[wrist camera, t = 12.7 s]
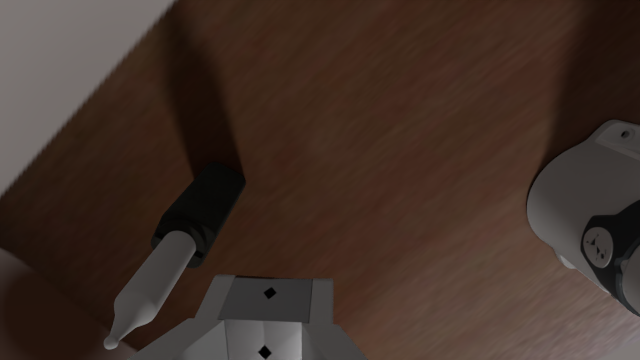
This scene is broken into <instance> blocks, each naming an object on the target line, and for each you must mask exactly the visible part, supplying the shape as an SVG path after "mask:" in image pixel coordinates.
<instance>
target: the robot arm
mask: <svg viewBox="0 0 640 360" xmlns="http://www.w3.org/2000/svg"><path fill="white" fill-rule="evenodd" d="M624 131H625V134H624V135H623V136H621V134H622V133H623V132H624ZM527 216H528V220H529V223H530V226H531V228H532V229H533V231H534V232H535V234H536V235H537V236H538V237H539V238H540V239H541V240H543V241H544V242H546V243H547V244H548V245H550V246H551V247H552V248H553V249H554V251H555V253H556V255H557V257H558V259H559V260H560V262H561V263H562V264H564V265H565V266H566V267H568V268H577V269H578V270H579V271H580V272H581V273H583V274H584V275H585V276H586V277H588V278H589V279H590V280H591V281H593V282H594V283H595V284H596V285H598V286H599V287H600V288H601V289H603V290H604V291H605V292H607V293H610V294H611V296H612V297H613V298H614V299H615V300H616V301H617V302H619V303H620V304H621V305H623V306H625V307H626V308H627V309H628V310H629V311H631V312H632V313H634V314H635V315H637V316H639V317H640V125H637V124H633V123H629V122H624V121H620V120H609V121H607V122H605V123H604V124H603V125H601V126H600V127H599V128H598V129H597V130H596V131H595V132H594V133H593V134H592V135H591V136H590V137H589V138H588V139H587V140H585V141H584V142H582V143H580V144H579V145H577V146H575V147H573V148H571V149H569V150H567V151H565V152H563V153H562V154H560V155H559V156H558V157H556V158H555V159H554V160H552V161H551V162H550V163H549V164H548V165H547V166H546V167H545V168H544V169H543V170H542V172H541V173H540V174H539V176H538V177H537V179H536V180H535V182H534V184H533V186H532V188H531V190H530V193H529V196H528V201H527ZM127 360H368V359H367V358H366V357H365V355H364V354H363V353H362V352H361V351H360V349H359V348H358V347H357V346H356V345H355V344H354V342H353V341H352V340H351V339H350V338H349V336H348V335H347V334H346V333H345V332H344V330H343V329H342V328H341V327H340V326H339V325H333V279H317V278H313V279H294V278H274V277H258V276H242V275H237V276H236V275H220V274H218V275H216V276H215V277H214V279H213V281H212V283H211V285H210V287H209V289H208V291H207V293H206V295H205V297H204V299H203V301H202V303H201V306H200V308H199V310H198V312H197V314H196V316H195V318H194V319H187V320H185V321H184V322H182V323H181V324H179V325H178V326H176V327H175V328H173V329H172V330H170V331H169V332H167V333H166V334H164V335H163V336H161V337H160V338H158V339H157V340H155V341H154V342H152V343H151V344H149V345H148V346H146V347H145V348H143V349H142V350H140V351H139V352H137V353H136V354H134V355H133V356H131V357H130V358H128V359H127Z"/></svg>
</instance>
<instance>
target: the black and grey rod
mask: <svg viewBox="0 0 640 360" xmlns="http://www.w3.org/2000/svg"><path fill="white" fill-rule="evenodd" d="M245 184H246V182H245V179H244V177H243V176H242V175H240V174H239V173H237V172H235V171H233V170H231V169H229V168H227V167H226V166H224V165H222V164H220V163H217V162H212V163H209V164H208V165H207V166H206V167H205V168H204V170H203V171H202V172H201V173H200V174H199V175H198V176H197V177H196V178H195V180H194V181H193V182H192V183H191V184H190V185H189V186H188V187H187V189H186V190H185V191H184V192H183V193H182V194H181V195H180V196H179V197H178V199H177V200H176V201H175V202H174V203H173V204H172V205H171V206H170V207H169V209H168V210H167V211H166V212H165V213H164V214H163V216H162V218H161V220H160V222H159V224H158V226H157V228H156V230H155V233H154V235H153V237H152V239H151V246H152V248H153V250H154V251H153V252H152V253H151V255H150V256H149V257H148V258H147V260H146V261H145V262H144V263H143V265H142V266H141V267H140V268H139V270H138V271H137V272H136V273H135V275H134V276H133V277H132V278H131V280H130V281H129V282H128V284H127V285H126V286H125V287H124V289H123V290H122V291H121V292H120V294H119V295H118V296H117V298H116V300H115V303H114V309H115V319H114V323H113V326H112V329H111V333H110V336H108V337H107V338H106V339H105V340H104V346H105V348H107V349H113V348H115V347H117V345H118V343H119V340H120V339H122V338H123V337H124V336H125V335H127V334H128V333H129V332H130V331H132V330H133V329H134V328H136V327H138V326H141V325H144V324H147V323H149V322H150V321H152V320H153V318H154V317H155V316H156V314H157V313H158V311H159V309H160V308H161V306H162V304H163V303H164V301H165V300H166V298H167V296H168V295H169V293H170V291H171V290H172V288H173V287H174V285H175V283H176V282H177V280H178V278H179V277H180V275H181V274H182V272H183V270H184V269H185V267H188V268H197V267H199V266H200V265H201V264H202V263H203V261H204V260H205V258H206V256H207V254H208V252H209V251H210V249H211V247H212V245H213V243H214V242H215V240H216V238H217V236H218V234H219V232H220V231H221V229H222V227H223V225H224V223H225V222H226V220H227V218H228V216H229V214H230V213H231V211H232V209H233V207H234V205H235V203H236V202H237V200H238V198H239V196H240V194H241V193H242V191H243V189H244V187H245Z"/></svg>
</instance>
